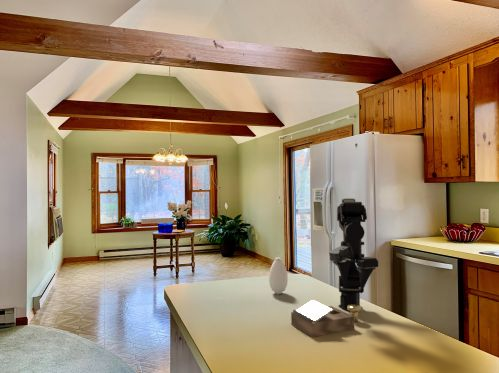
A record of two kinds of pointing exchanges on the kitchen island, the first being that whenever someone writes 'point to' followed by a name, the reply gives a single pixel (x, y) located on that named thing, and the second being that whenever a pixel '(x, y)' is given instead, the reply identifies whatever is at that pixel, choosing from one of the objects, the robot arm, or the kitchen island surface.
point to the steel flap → (314, 310)
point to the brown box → (323, 322)
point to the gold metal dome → (354, 311)
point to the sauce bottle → (278, 276)
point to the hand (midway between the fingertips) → (353, 285)
